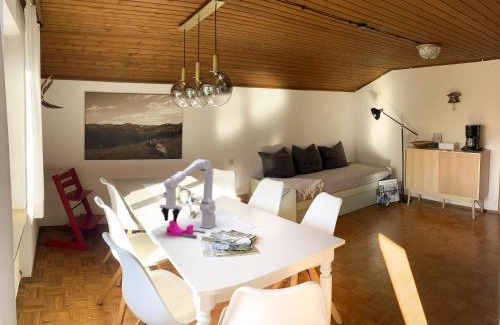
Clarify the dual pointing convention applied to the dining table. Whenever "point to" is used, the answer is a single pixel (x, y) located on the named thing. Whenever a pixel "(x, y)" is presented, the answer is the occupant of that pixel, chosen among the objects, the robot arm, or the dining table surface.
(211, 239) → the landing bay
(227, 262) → the dining table surface
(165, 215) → the robot arm
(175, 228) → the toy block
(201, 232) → the channel
